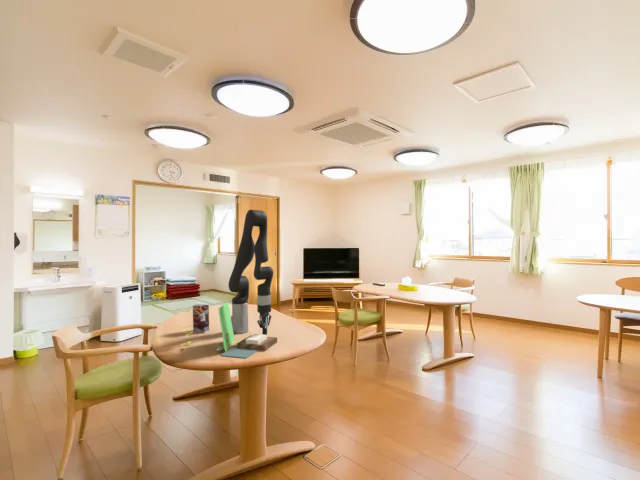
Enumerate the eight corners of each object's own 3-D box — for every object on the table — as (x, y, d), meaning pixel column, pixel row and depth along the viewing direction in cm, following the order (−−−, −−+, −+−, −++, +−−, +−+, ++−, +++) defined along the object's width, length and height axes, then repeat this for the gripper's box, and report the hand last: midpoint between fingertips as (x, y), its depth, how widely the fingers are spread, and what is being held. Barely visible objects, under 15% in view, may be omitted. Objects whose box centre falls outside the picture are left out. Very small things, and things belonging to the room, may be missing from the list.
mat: (220, 355, 158) (220, 355, 158) (232, 348, 169) (232, 347, 169) (246, 358, 154) (246, 357, 154) (257, 350, 164) (257, 349, 164)
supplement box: (192, 331, 200) (192, 305, 200) (198, 329, 205) (197, 303, 204) (204, 333, 197) (203, 306, 197) (209, 330, 201) (209, 304, 201)
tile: (245, 343, 168) (245, 339, 168) (255, 337, 178) (255, 333, 178) (258, 344, 166) (258, 340, 166) (267, 338, 176) (266, 334, 176)
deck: (237, 348, 169) (236, 343, 169) (250, 339, 182) (250, 335, 182) (265, 350, 164) (265, 345, 164) (277, 342, 177) (277, 337, 177)
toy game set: (189, 347, 182) (182, 304, 182) (235, 339, 183) (228, 296, 183) (174, 361, 160) (166, 313, 160) (226, 352, 162) (218, 303, 162)
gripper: (263, 300, 188) (264, 331, 188) (252, 305, 175) (252, 337, 175) (275, 301, 186) (276, 331, 186) (265, 305, 173) (265, 338, 173)
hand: (264, 334), depth 181 cm, fingers closed
